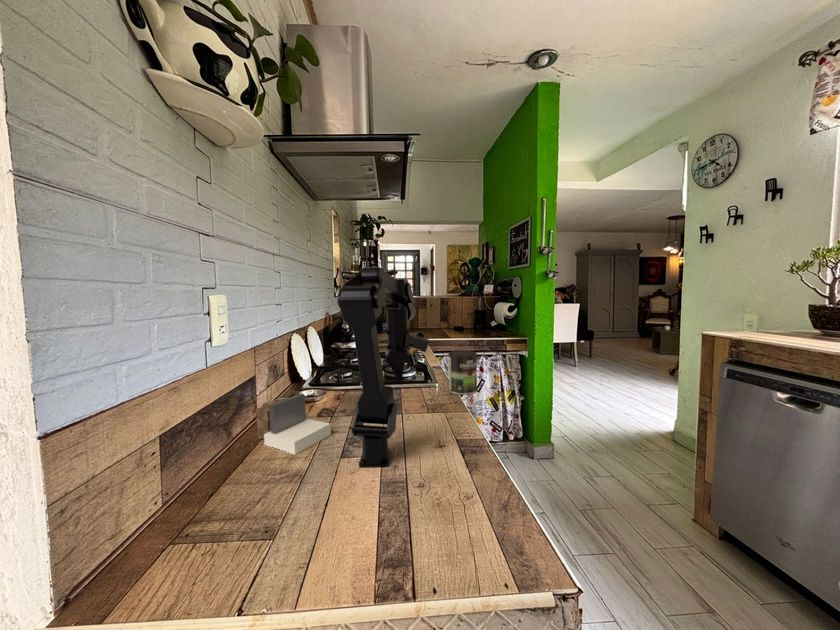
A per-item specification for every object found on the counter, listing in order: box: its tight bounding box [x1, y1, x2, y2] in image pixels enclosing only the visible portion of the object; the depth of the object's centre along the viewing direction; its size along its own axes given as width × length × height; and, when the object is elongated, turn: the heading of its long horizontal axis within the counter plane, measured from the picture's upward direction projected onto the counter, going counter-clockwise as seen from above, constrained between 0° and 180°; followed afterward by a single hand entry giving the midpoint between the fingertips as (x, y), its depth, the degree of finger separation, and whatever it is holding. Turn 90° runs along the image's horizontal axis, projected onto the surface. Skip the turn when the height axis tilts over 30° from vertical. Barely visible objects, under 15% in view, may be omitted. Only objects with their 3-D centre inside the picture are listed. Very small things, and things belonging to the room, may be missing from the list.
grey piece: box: [268, 393, 307, 434], centre depth 90 cm, size 8×10×7 cm
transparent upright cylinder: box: [448, 350, 478, 396], centre depth 126 cm, size 10×10×14 cm
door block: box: [263, 418, 332, 456], centre depth 88 cm, size 10×12×3 cm
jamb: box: [256, 399, 283, 439], centre depth 92 cm, size 4×8×8 cm, turn 152°
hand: (399, 381), depth 96 cm, fingers closed
